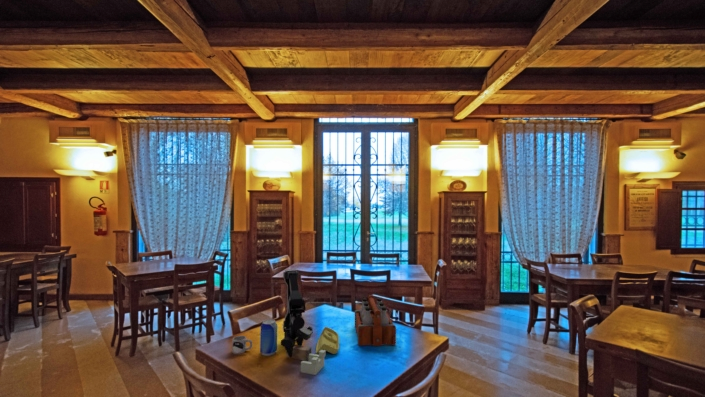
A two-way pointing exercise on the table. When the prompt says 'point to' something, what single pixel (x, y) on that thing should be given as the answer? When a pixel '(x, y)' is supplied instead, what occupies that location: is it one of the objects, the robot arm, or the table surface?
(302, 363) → the posts
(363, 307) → the milk bottle holder
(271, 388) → the table surface
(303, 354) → the rail
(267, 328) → the beer can
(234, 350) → the mug
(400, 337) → the table surface
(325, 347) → the plastic component
